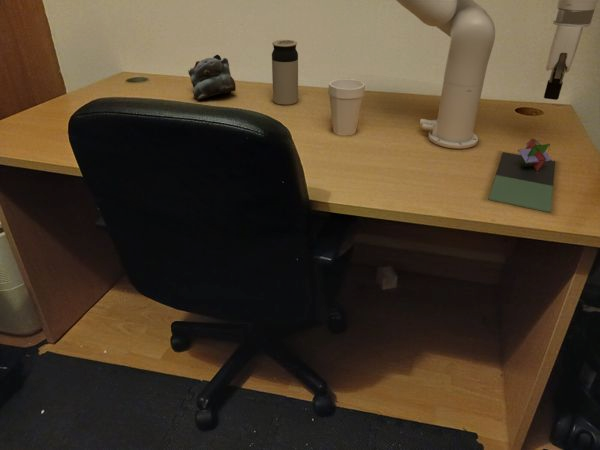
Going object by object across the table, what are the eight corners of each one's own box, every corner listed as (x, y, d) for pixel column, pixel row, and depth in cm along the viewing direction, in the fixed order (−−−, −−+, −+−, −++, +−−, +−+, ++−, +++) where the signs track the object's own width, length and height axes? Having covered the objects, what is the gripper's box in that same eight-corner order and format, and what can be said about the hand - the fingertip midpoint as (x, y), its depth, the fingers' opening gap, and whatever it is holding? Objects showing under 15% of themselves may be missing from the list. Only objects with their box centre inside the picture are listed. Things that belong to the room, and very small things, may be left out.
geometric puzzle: (561, 168, 108) (556, 133, 108) (534, 170, 106) (529, 135, 107) (540, 173, 115) (535, 141, 115) (514, 176, 113) (509, 143, 114)
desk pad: (488, 199, 101) (488, 198, 100) (502, 153, 120) (502, 152, 120) (550, 212, 96) (550, 211, 96) (554, 162, 116) (555, 161, 116)
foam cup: (366, 128, 134) (369, 81, 127) (355, 140, 127) (358, 91, 120) (334, 122, 137) (336, 77, 130) (322, 134, 130) (323, 86, 123)
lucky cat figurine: (187, 102, 151) (176, 58, 150) (202, 105, 163) (192, 64, 161) (231, 90, 148) (220, 44, 146) (243, 94, 159) (233, 52, 158)
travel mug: (302, 100, 154) (303, 41, 144) (289, 107, 148) (288, 46, 138) (282, 95, 157) (281, 38, 148) (268, 102, 152) (266, 43, 142)
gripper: (555, 10, 114) (536, 87, 124) (553, 22, 102) (531, 105, 112) (591, 12, 111) (568, 91, 121) (592, 24, 100) (567, 109, 110)
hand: (550, 98), depth 117 cm, fingers closed
